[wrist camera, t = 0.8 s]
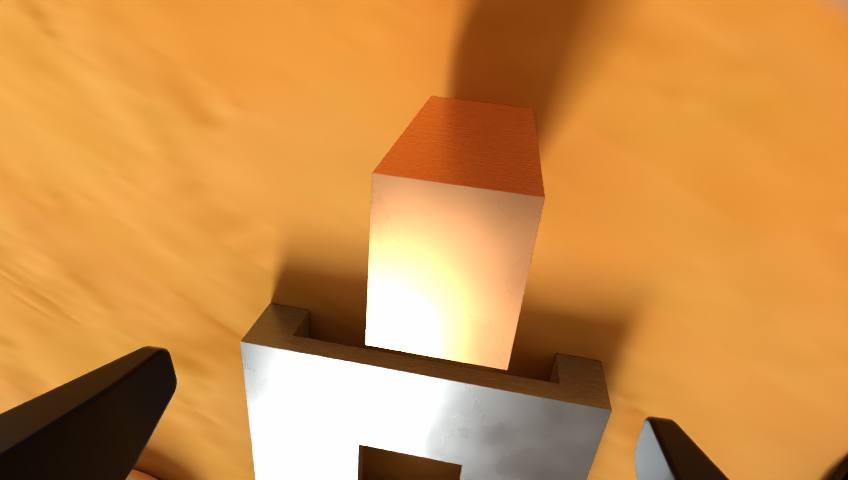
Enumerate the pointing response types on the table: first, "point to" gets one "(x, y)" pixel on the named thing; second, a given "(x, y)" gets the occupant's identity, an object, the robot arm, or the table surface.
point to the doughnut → (139, 476)
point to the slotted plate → (411, 409)
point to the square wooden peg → (454, 232)
